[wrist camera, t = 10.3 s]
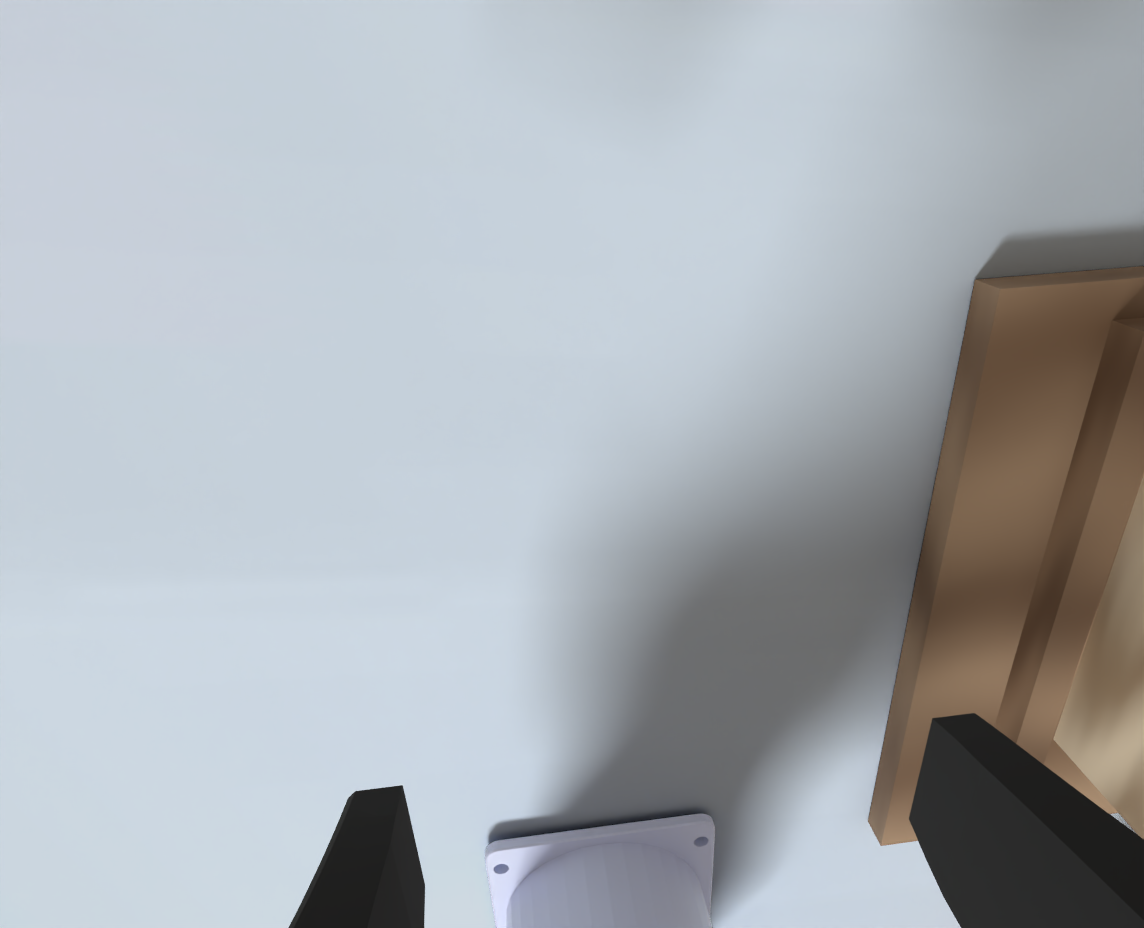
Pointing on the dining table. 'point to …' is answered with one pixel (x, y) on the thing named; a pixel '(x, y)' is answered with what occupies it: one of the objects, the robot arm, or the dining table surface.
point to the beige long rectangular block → (1113, 684)
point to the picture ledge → (1020, 520)
